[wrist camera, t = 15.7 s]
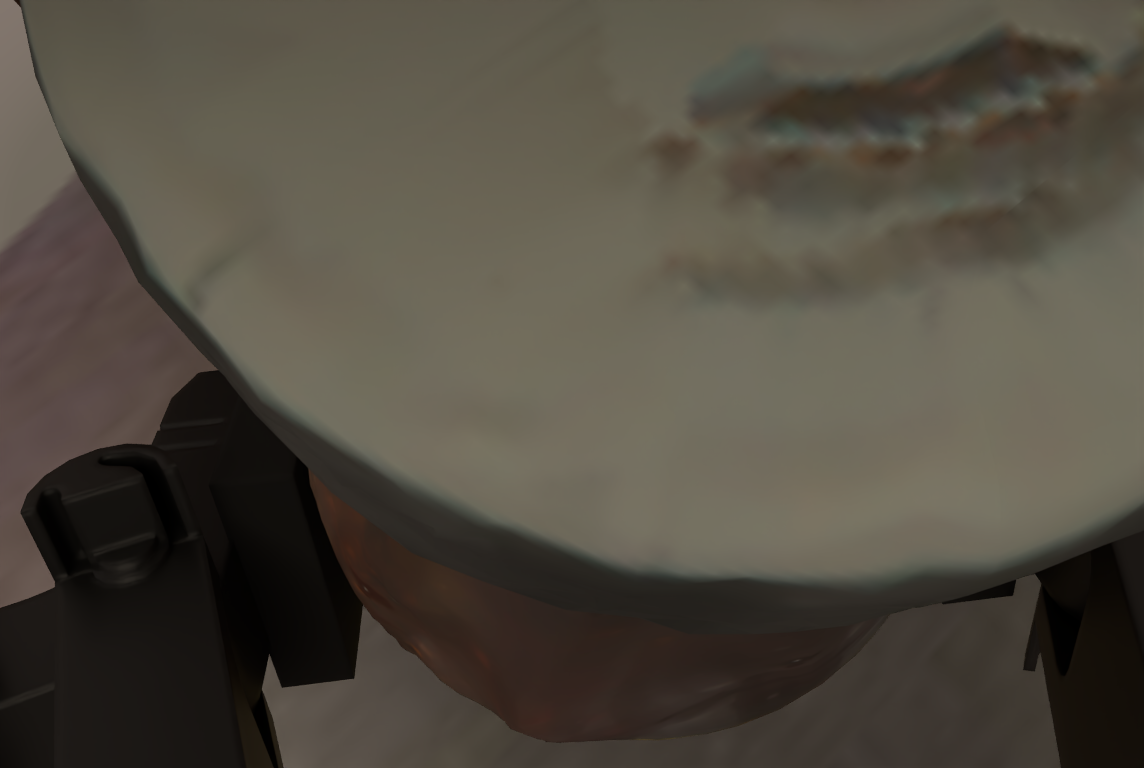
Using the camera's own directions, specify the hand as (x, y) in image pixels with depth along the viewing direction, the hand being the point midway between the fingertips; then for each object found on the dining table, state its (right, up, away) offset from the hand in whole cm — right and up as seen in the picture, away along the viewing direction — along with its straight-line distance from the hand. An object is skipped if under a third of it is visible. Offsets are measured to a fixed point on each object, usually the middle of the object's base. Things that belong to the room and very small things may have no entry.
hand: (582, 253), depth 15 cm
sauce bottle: (0, -5, +7) cm, 8 cm away
